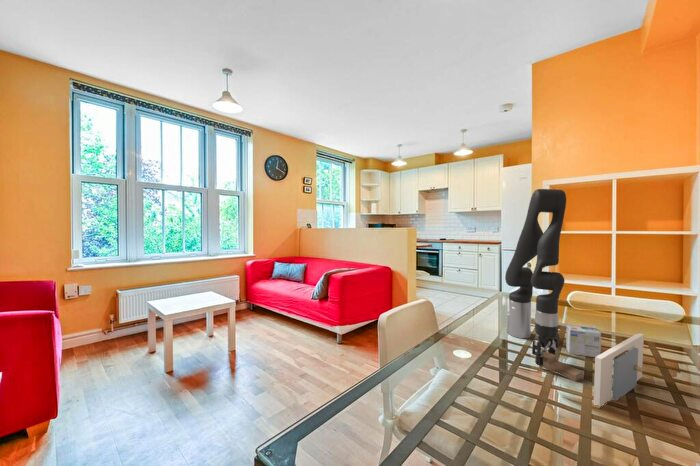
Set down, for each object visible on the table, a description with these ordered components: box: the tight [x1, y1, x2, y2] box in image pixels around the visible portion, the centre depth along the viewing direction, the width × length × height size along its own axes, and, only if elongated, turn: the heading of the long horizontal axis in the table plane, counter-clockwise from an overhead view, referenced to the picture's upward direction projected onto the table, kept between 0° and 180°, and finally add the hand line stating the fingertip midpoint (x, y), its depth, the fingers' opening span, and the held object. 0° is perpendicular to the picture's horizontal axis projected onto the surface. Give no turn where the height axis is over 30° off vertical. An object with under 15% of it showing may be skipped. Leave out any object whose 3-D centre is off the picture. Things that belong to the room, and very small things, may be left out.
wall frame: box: [593, 332, 645, 406], centre depth 97 cm, size 2×32×16 cm, turn 118°
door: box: [611, 348, 643, 401], centre depth 95 cm, size 3×15×13 cm, turn 118°
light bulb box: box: [565, 323, 602, 358], centre depth 122 cm, size 11×7×11 cm, turn 65°
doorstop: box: [534, 351, 584, 383], centre depth 110 cm, size 14×5×4 cm, turn 28°
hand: (545, 361), depth 114 cm, fingers open, 8 cm apart
